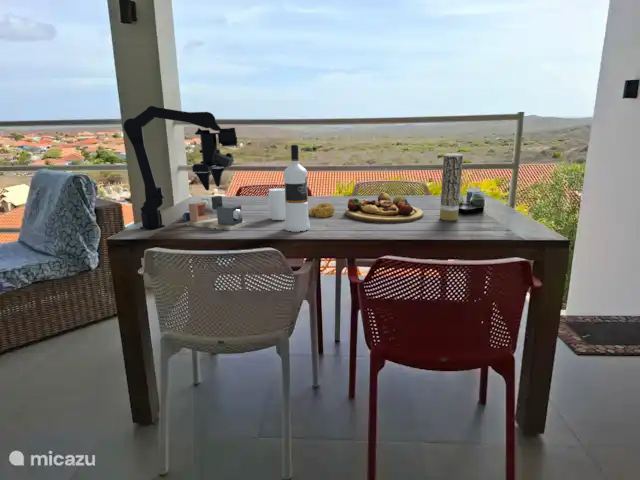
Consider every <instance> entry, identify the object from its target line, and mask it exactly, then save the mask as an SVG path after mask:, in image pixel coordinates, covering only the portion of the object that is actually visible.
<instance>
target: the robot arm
mask: <svg viewBox="0 0 640 480" xmlns="http://www.w3.org/2000/svg"><path fill="white" fill-rule="evenodd" d="M154 119H162V120H169V121H174V122H175V121H176V122H184V123H188V124H192V125H195V126H198V129H197V130H196V131H195V132H194V134H195V135H197V136H200V148H201V149H200V150H199V149H198V150H199V154H201V156H202V160H201V161H200V163H199V162H198V163H194V164H193V165H192V166H191V170H192V171H191V172H192V173H194V175H196V177H197V178H198V180H199V181H200V183H201V184H202V186H203V188H204V190H205V191H210V176H211V175H212V178H213V180H214V184H215V186H216V188H217V187H218V188H219V187H220V185H221V180H222V176H223V172H225V170H227V168H229V167H232V165H233V163H234V161H235V160H234V156H233V155H234V154H233V153H231V152H227V153H226V154H225V153H224V154H223V153H221V150H220V149H218V145H221V147H237V146H238V136H237V132H236V128H235V127H227V128H221V126H220V125H219V124H218V123H217V122H216V117H215V115H214V114H213V113H211V112H209V111H193V112H192V111H183V110H177V109H176V110H175V109H169V108H162V107H157V106H154V105H149V106H148V107H147V108H146V109H145V110H144V111H142V112H141V113H140V114H137V116H136V117H134V118H127V119H126V120H125V122H124V123H123V129H124V132H125V134H126V135H127V137H128V140H129V141H130V143H131V145H132V147H133V149H134V153H135V157H136V160H137V163H138V167H139V171H140V173H141V177H142V180H143V184H144V194H145V195H144V197H145V201H144V202H143V204H141V207H140V211H141V212H140V217H141V222H142V223H141V224H142V225H141V226H139V229H142V228H145V229H144V230H149V229H153V230H156V228H157V229H159V228H163V227H165V226H166V224H163V218H162V213H161V210H160V209H159V208H160V207H161V206H162V205H163V202H164V198H165V194H164V192H163V186H162V185H158V184H157V182H156V180H155V176H154V173H153V169H152V166H151V162H150V159H149V154H148V151H147V149H146V145H145V132H144V127H146V125H148V124H149V123H150V122H152V121H153V120H154ZM200 127H201V128H204V129H201V128H200ZM210 129H211V130H212V131H217V132H210ZM217 144H218V145H217Z"/></svg>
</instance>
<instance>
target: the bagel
mask: <svg viewBox="0 0 640 480" xmlns="http://www.w3.org/2000/svg"><path fill="white" fill-rule="evenodd" d="M335 208H336V207H334V205H333V204H331V203H328V202H324V203H323V202H322V203H319V204H318V205H316V206H313V207H311V208H310V209H309V210H308V216H310V217H313V216H314V217H316V218H322V217H325V218H329V217H331V216H333V215H334V213H335V211H336V209H335Z"/></svg>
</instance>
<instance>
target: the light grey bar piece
mask: <svg viewBox="0 0 640 480" xmlns="http://www.w3.org/2000/svg"><path fill="white" fill-rule="evenodd" d="M201 201H204V202H206V204H207V207H212V198H211V196H209V195H205V196H203V197H202V199H201ZM182 219H183V220H184V221H185V222H189V221H190V213H189V208H187V209H186V210H185V212H184V213H183V214H182Z"/></svg>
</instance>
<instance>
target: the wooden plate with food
mask: <svg viewBox="0 0 640 480" xmlns="http://www.w3.org/2000/svg"><path fill="white" fill-rule="evenodd" d="M344 214H345V215H346V216H347V217H349V218H351V219H353V220H357V221H360V222H367V223H373V224H404V223H411V222H415V221H419V220H421V219H422V218H423V217H424V212H423V211H422V209H420V208H419V207H415V206H412V205H411V204H410V203H409V202H408V200H407V199H406V197H404V196H403V195H402V194H398V195H397V196H395V197H394V198H393V200H391V196H390V195H389V194H388V193H386V192H385V191H382V192H381V193H380V194H379V195H378V197H377V200H375V199H374V200H370V199H363V200H361V201H360V200H359V199H358V198H355V197H351V198H349V199H348V201H347V207H346V209H345V213H344Z"/></svg>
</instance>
